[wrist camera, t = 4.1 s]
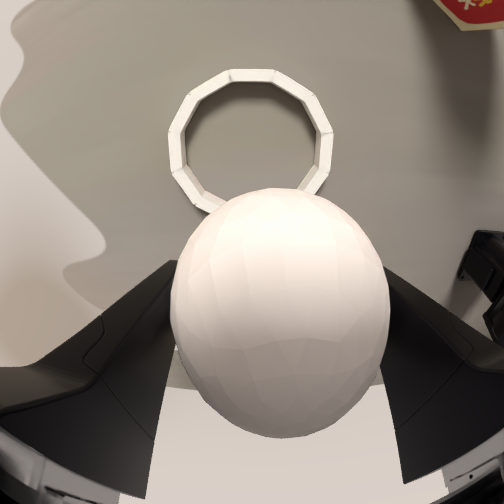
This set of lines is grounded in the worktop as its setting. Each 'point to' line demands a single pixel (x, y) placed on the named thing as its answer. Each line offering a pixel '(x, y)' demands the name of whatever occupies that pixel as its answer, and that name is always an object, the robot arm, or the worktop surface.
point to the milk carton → (474, 13)
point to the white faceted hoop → (193, 99)
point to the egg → (280, 312)
